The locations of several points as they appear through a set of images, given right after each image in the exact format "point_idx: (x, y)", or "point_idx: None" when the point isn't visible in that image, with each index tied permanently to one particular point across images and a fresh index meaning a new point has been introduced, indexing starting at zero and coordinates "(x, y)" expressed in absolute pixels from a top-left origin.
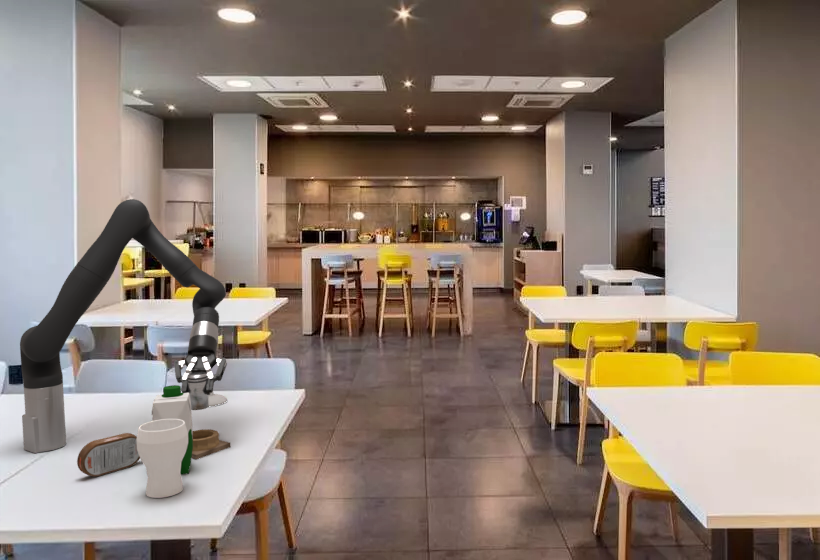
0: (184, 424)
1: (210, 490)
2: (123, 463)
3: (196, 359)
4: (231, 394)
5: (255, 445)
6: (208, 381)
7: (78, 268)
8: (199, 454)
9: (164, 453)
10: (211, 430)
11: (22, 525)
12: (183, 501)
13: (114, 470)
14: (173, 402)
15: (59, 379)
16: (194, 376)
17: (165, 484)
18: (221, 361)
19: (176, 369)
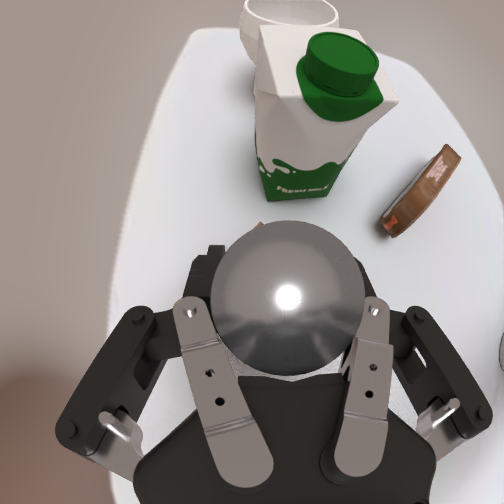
0: (244, 6)
1: (210, 86)
2: (398, 199)
3: (338, 451)
4: None
5: (136, 297)
6: (208, 284)
7: None
8: (254, 228)
9: (272, 18)
10: None
11: (405, 66)
12: (243, 64)
13: (402, 191)
14: (299, 26)
15: None
16: (296, 222)
17: None
18: (87, 416)
19: (452, 357)
